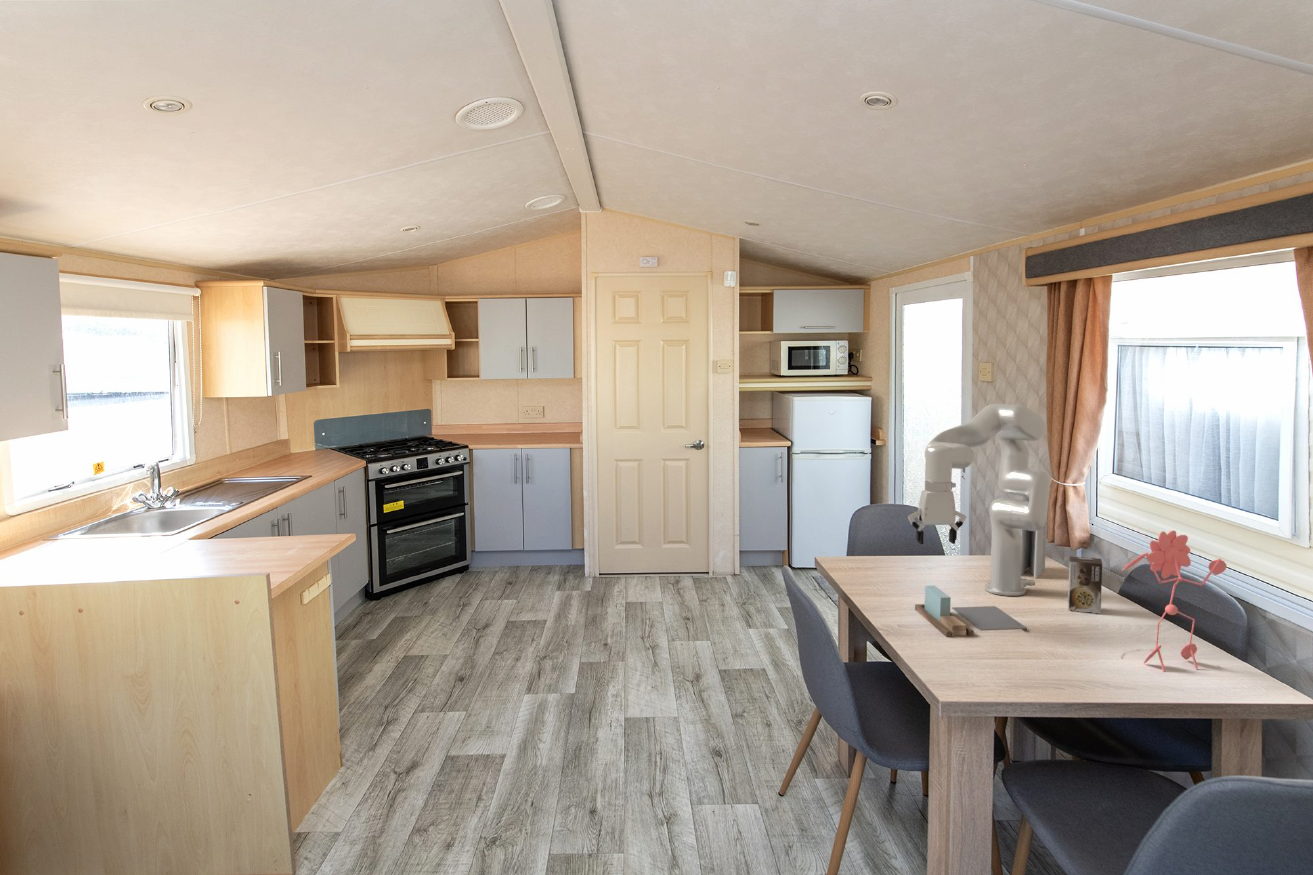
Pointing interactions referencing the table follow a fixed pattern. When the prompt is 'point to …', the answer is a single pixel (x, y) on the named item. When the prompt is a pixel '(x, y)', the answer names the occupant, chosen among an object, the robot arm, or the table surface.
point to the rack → (945, 631)
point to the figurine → (1169, 560)
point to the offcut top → (953, 623)
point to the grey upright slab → (1033, 549)
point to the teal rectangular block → (937, 602)
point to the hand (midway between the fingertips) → (936, 542)
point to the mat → (989, 618)
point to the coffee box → (1085, 584)
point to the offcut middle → (956, 632)
